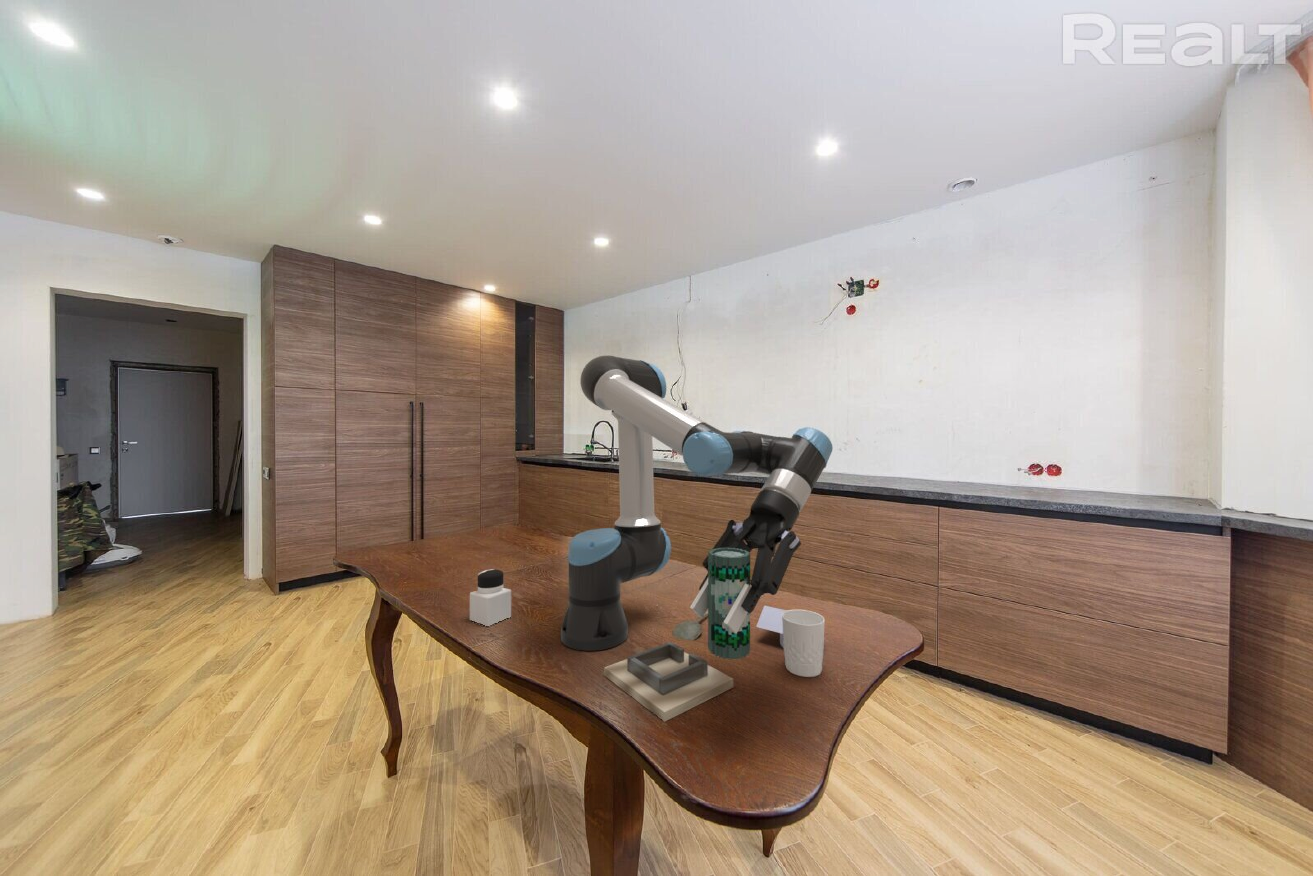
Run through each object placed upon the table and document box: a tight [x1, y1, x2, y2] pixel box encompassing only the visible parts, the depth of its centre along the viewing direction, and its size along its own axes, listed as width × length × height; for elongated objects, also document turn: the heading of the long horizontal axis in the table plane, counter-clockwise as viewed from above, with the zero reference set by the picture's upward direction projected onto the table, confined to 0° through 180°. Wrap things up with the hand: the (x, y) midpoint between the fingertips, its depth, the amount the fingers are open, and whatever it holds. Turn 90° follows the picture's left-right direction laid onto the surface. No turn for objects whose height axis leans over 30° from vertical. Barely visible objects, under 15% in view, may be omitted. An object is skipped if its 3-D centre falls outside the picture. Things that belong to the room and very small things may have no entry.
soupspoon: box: [672, 610, 708, 642], centre depth 109 cm, size 22×3×7 cm
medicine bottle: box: [469, 568, 512, 627], centre depth 112 cm, size 7×7×12 cm
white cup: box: [782, 608, 826, 678], centre depth 87 cm, size 8×8×10 cm
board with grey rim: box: [603, 641, 734, 723], centre depth 82 cm, size 18×16×4 cm
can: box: [707, 548, 751, 660], centre depth 69 cm, size 6×6×15 cm
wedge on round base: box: [756, 605, 825, 651], centre depth 98 cm, size 9×7×13 cm
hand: (712, 620), depth 67 cm, fingers closed on can, 6 cm apart
